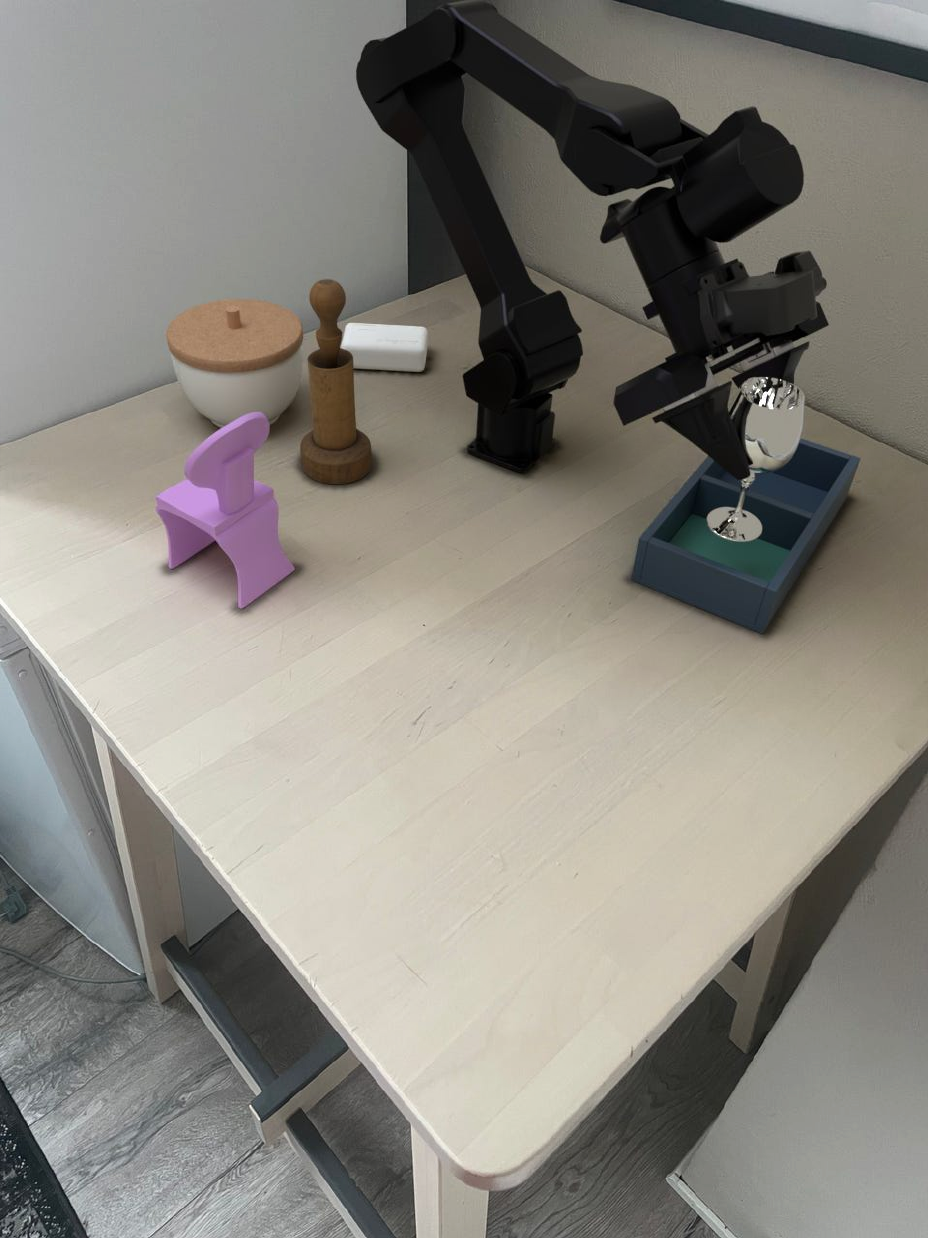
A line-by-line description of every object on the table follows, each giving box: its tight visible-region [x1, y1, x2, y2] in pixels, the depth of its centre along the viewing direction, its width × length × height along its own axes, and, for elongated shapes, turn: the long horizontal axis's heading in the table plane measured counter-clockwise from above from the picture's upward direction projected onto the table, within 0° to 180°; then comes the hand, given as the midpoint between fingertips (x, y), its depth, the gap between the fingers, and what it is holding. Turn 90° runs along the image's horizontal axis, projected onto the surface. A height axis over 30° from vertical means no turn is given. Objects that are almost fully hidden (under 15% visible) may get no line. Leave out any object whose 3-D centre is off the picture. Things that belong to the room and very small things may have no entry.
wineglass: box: [706, 377, 806, 542], centre depth 78 cm, size 6×6×12 cm
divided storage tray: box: [630, 438, 862, 635], centre depth 89 cm, size 12×22×4 cm, turn 148°
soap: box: [340, 322, 429, 373], centre depth 111 cm, size 9×6×3 cm, turn 88°
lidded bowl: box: [166, 298, 304, 429], centre depth 99 cm, size 13×13×11 cm
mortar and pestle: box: [299, 278, 373, 485], centre depth 91 cm, size 7×6×18 cm
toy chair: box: [155, 412, 296, 610], centre depth 80 cm, size 8×9×15 cm
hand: (768, 464), depth 77 cm, fingers closed on wineglass, 5 cm apart
